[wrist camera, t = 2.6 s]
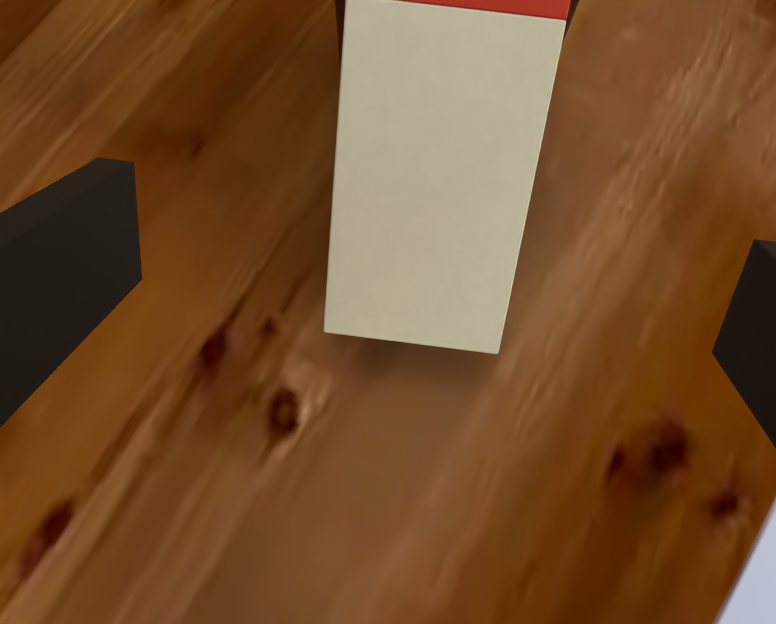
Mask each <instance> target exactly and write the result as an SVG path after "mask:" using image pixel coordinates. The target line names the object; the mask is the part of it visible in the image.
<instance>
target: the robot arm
mask: <svg viewBox="0 0 776 624" xmlns="http://www.w3.org/2000/svg"><path fill="white" fill-rule="evenodd" d="M141 280H142V274H141V259H140V245H139V231H138V216H137V202H136V187H135V173H134V162H129V161H121V160H113V159H105V158H97V159H95V160H93V161H91V162H90V163H88V164H86V165H84V166H83V167H81V168H79V169H77V170H76V171H74V172H72V173H70V174H68V175H67V176H65V177H63V178H61V179H60V180H58V181H56V182H54V183H53V184H51V185H49V186H47V187H46V188H44V189H42V190H40V191H38V192H37V193H35V194H33V195H31V196H30V197H28V198H26V199H24V200H23V201H21V202H19V203H17V204H15V205H14V206H12V207H10V208H8V209H7V210H5V211H3V212H1V213H0V427H1V426H2V425H3V424H4V423H5V422H6V421H7V420H8V419H9V418H10V416H11V415H12V414H13V413H14V412H15V411H16V410H17V409H18V408H19V407H20V406H21V405H22V404H23V403H24V402H25V401H26V400H27V399H28V398H29V397H30V396H31V395H32V394H33V392H34V391H35V390H36V389H37V388H38V387H39V386H40V385H41V384H42V383H43V382H44V381H45V380H46V379H47V378H48V377H49V376H50V375H51V374H52V373H53V372H54V371H55V370H56V368H57V367H58V366H59V365H60V364H61V363H62V362H63V361H64V360H65V359H66V358H67V357H68V356H69V355H70V354H71V353H72V352H73V351H74V350H75V349H76V348H77V347H78V346H79V344H80V343H81V342H82V341H83V340H84V339H85V338H86V337H87V336H88V335H89V334H90V333H91V332H92V331H93V330H94V329H95V328H96V327H97V326H98V325H99V324H100V323H101V322H102V320H103V319H104V318H105V317H106V316H107V315H108V314H109V313H110V312H111V311H112V310H113V309H114V308H115V307H116V306H117V305H118V304H119V303H120V302H121V301H122V300H123V299H124V298H125V296H126V295H127V294H128V293H129V292H130V291H131V290H132V289H133V288H134V287H135V286H136V285H137V284H138V283H139V282H140V281H141ZM712 354H713V355H714V357H715V358H716V360H717V361H718V363H719V364H720V366H721V367H722V369H723V370H724V371H725V373H726V374H727V376H728V377H729V379H730V380H731V382H732V383H733V385H734V386H735V388H736V389H737V391H738V392H739V394H740V395H741V397H742V398H743V400H744V401H745V403H746V404H747V406H748V407H749V409H750V410H751V412H752V413H753V415H754V416H755V418H756V419H757V421H758V422H759V424H760V425H761V427H762V428H763V430H764V431H765V433H766V434H767V436H768V437H769V439H770V440H771V442H772V443H773V445H774V446H775V448H776V242H772V241H764V240H756V239H754V241H753V244H752V246H751V249H750V252H749V254H748V257H747V260H746V262H745V265H744V268H743V270H742V273H741V276H740V278H739V281H738V284H737V286H736V289H735V292H734V294H733V297H732V300H731V302H730V305H729V308H728V310H727V313H726V316H725V318H724V321H723V324H722V326H721V329H720V332H719V334H718V337H717V340H716V342H715V345H714V348H713V350H712Z"/></svg>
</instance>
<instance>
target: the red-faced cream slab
mask: <svg viewBox="0 0 776 624" xmlns="http://www.w3.org/2000/svg"><path fill="white" fill-rule="evenodd" d="M570 2H571V0H346V1H345V16H344V31H343V46H342V61H341V76H340V91H339V106H338V120H337V135H336V150H335V165H334V180H333V195H332V210H331V224H330V239H329V254H328V269H327V284H326V299H325V314H324V329H323V330H324V332H326V333H334V334H342V335H350V336H358V337H365V338H373V339H381V340H389V341H397V342H405V343H413V344H421V345H429V346H437V347H444V348H452V349H460V350H468V351H476V352H484V353H492V354H498V352H499V348H500V343H501V338H502V333H503V328H504V324H505V319H506V314H507V309H508V304H509V299H510V294H511V289H512V285H513V280H514V275H515V270H516V265H517V260H518V255H519V250H520V246H521V241H522V236H523V231H524V226H525V221H526V216H527V211H528V207H529V202H530V197H531V192H532V187H533V182H534V177H535V172H536V168H537V163H538V158H539V153H540V148H541V143H542V138H543V133H544V129H545V124H546V119H547V114H548V109H549V104H550V99H551V94H552V90H553V85H554V80H555V75H556V70H557V65H558V60H559V55H560V51H561V46H562V41H563V36H564V31H565V26H566V21H565V19H567V17H568V12H569V7H570Z"/></svg>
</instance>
